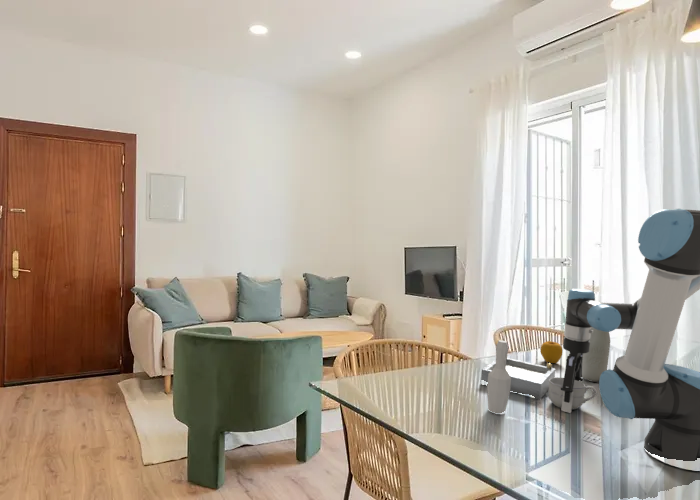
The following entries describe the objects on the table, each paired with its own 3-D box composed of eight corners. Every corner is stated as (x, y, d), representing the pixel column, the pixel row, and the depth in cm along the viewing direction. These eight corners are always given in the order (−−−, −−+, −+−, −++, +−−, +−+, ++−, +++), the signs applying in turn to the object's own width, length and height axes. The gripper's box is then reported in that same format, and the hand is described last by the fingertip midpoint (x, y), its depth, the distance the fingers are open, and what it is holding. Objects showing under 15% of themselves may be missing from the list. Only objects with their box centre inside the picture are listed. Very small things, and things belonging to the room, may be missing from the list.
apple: (534, 359, 204) (536, 339, 203) (551, 358, 206) (553, 338, 205) (548, 366, 196) (550, 345, 195) (566, 365, 198) (568, 344, 197)
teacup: (544, 407, 155) (547, 383, 154) (549, 396, 164) (551, 373, 163) (593, 418, 148) (596, 393, 147) (595, 406, 157) (597, 382, 157)
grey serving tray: (539, 400, 160) (541, 379, 160) (480, 384, 172) (482, 364, 171) (554, 383, 177) (555, 364, 176) (499, 370, 188) (500, 352, 187)
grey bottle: (602, 377, 186) (610, 305, 183) (608, 387, 176) (617, 310, 173) (574, 373, 189) (581, 302, 186) (579, 382, 179) (586, 307, 176)
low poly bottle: (498, 406, 153) (504, 337, 151) (511, 415, 147) (518, 343, 145) (481, 408, 151) (487, 339, 149) (494, 417, 145) (500, 345, 143)
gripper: (583, 348, 142) (575, 421, 144) (596, 333, 161) (589, 398, 163) (555, 343, 146) (548, 414, 148) (571, 329, 165) (565, 392, 168)
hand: (570, 405), depth 156 cm, fingers closed on teacup, 11 cm apart
